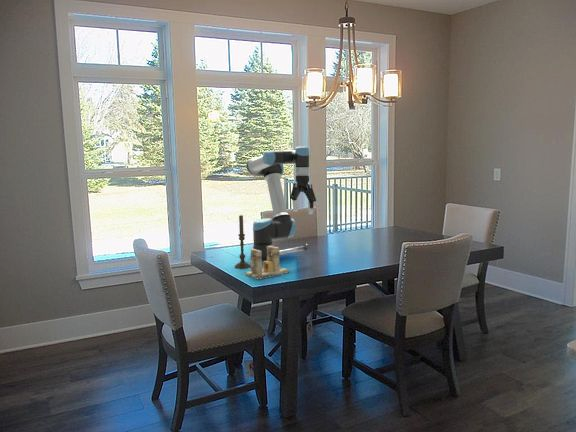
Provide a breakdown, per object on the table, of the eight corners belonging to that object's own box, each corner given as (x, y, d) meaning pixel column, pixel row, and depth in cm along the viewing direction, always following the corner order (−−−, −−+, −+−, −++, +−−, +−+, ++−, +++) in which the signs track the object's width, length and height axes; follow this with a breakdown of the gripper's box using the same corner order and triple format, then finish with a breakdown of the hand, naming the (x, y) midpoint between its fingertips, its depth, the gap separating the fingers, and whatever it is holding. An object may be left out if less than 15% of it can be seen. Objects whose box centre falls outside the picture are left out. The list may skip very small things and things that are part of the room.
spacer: (263, 270, 253) (263, 261, 252) (267, 269, 255) (267, 260, 254) (269, 272, 249) (268, 262, 248) (273, 271, 251) (273, 261, 250)
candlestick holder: (232, 268, 264) (230, 215, 259) (237, 264, 273) (235, 213, 268) (248, 268, 262) (246, 215, 258) (252, 264, 271) (250, 213, 267)
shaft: (269, 257, 254) (268, 250, 253) (305, 250, 270) (305, 243, 269) (273, 258, 251) (273, 251, 250) (310, 251, 267) (310, 244, 266)
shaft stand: (245, 274, 250) (244, 249, 248) (275, 268, 262) (274, 243, 260) (258, 279, 241) (258, 252, 239) (289, 272, 253) (288, 246, 251)
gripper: (283, 174, 268) (284, 211, 271) (311, 176, 248) (312, 216, 251) (293, 173, 272) (294, 209, 276) (322, 175, 253) (322, 214, 256)
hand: (302, 213), depth 264 cm, fingers open, 13 cm apart
